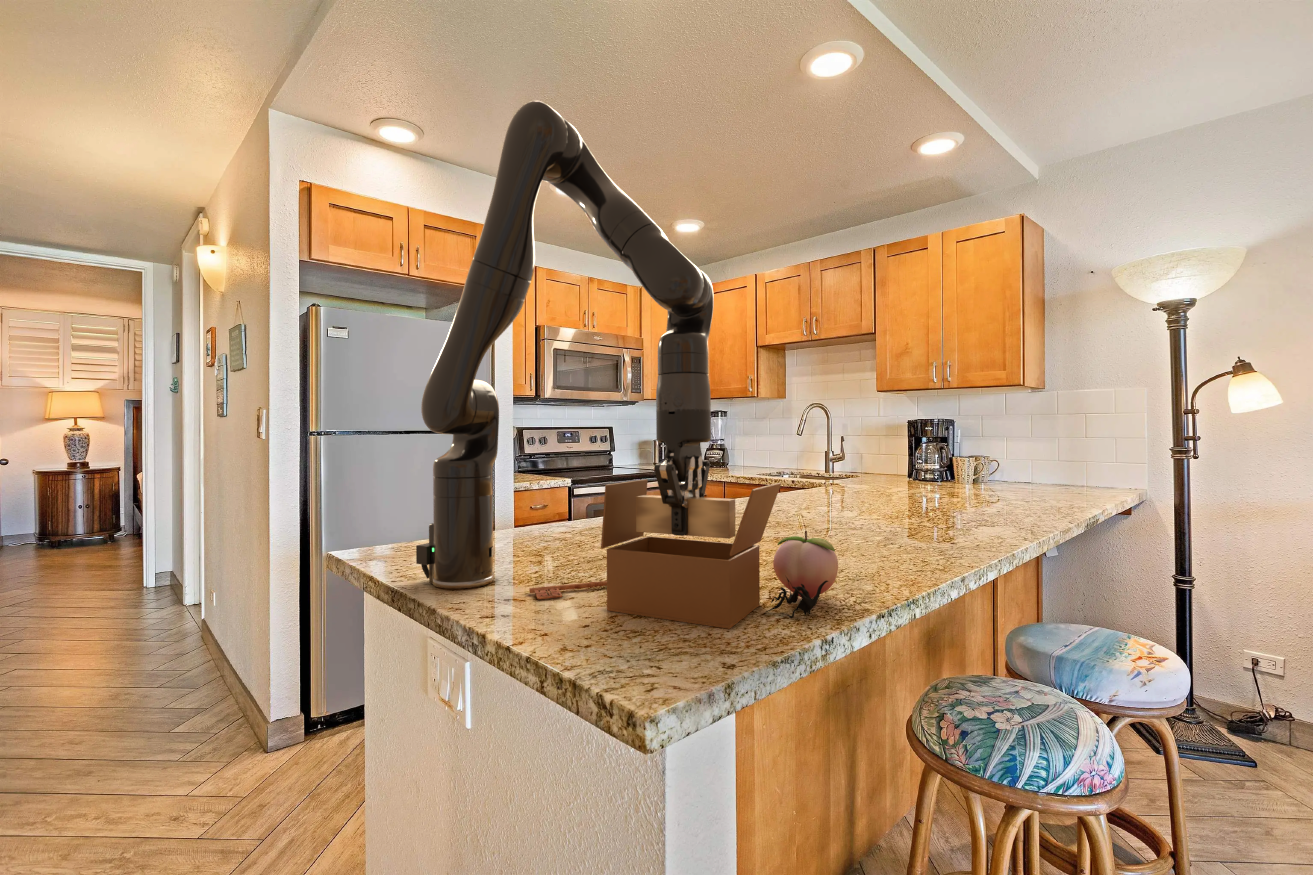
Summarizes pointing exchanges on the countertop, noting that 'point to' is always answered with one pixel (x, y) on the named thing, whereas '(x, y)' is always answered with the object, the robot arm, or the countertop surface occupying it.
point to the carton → (673, 569)
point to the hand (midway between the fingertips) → (684, 532)
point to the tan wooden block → (702, 516)
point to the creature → (805, 602)
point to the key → (555, 591)
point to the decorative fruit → (806, 563)
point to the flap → (755, 517)
